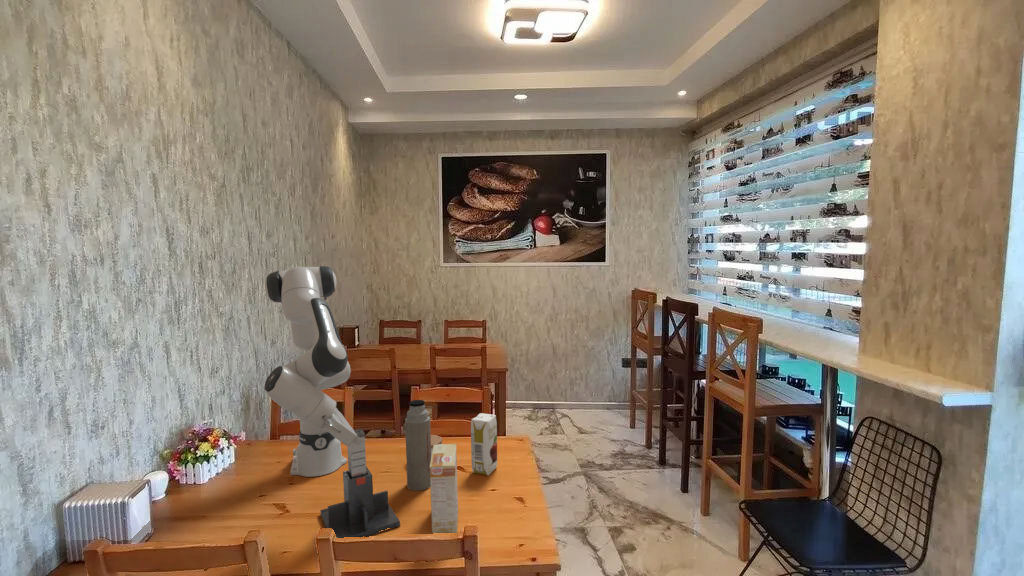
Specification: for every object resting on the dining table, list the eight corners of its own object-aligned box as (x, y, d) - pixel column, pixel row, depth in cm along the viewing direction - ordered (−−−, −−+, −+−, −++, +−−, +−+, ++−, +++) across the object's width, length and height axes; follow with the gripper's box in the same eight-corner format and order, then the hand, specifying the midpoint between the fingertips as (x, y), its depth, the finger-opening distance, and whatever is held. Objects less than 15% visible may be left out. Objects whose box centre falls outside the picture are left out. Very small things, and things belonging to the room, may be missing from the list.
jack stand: (320, 515, 143) (318, 468, 142) (381, 498, 152) (380, 454, 151) (332, 547, 127) (330, 495, 126) (400, 526, 136) (398, 477, 135)
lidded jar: (444, 464, 175) (444, 439, 174) (414, 469, 172) (413, 443, 171) (440, 452, 185) (439, 428, 184) (411, 456, 182) (410, 432, 181)
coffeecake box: (434, 507, 146) (433, 444, 145) (458, 505, 147) (457, 443, 145) (430, 536, 131) (428, 466, 130) (457, 535, 132) (455, 465, 130)
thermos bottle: (435, 480, 163) (433, 398, 161) (426, 491, 156) (424, 406, 153) (413, 478, 165) (410, 397, 163) (403, 489, 157) (400, 404, 155)
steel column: (349, 511, 140) (346, 431, 138) (364, 506, 142) (361, 428, 140) (353, 518, 136) (349, 436, 135) (368, 513, 139) (365, 433, 137)
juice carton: (469, 473, 168) (468, 419, 166) (480, 463, 176) (479, 411, 174) (489, 477, 165) (488, 422, 163) (499, 466, 173) (498, 414, 171)
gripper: (336, 413, 124) (375, 442, 130) (321, 392, 142) (357, 419, 148) (318, 433, 122) (359, 462, 128) (306, 410, 140) (342, 436, 146)
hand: (358, 439), depth 138 cm, fingers closed on steel column, 4 cm apart
